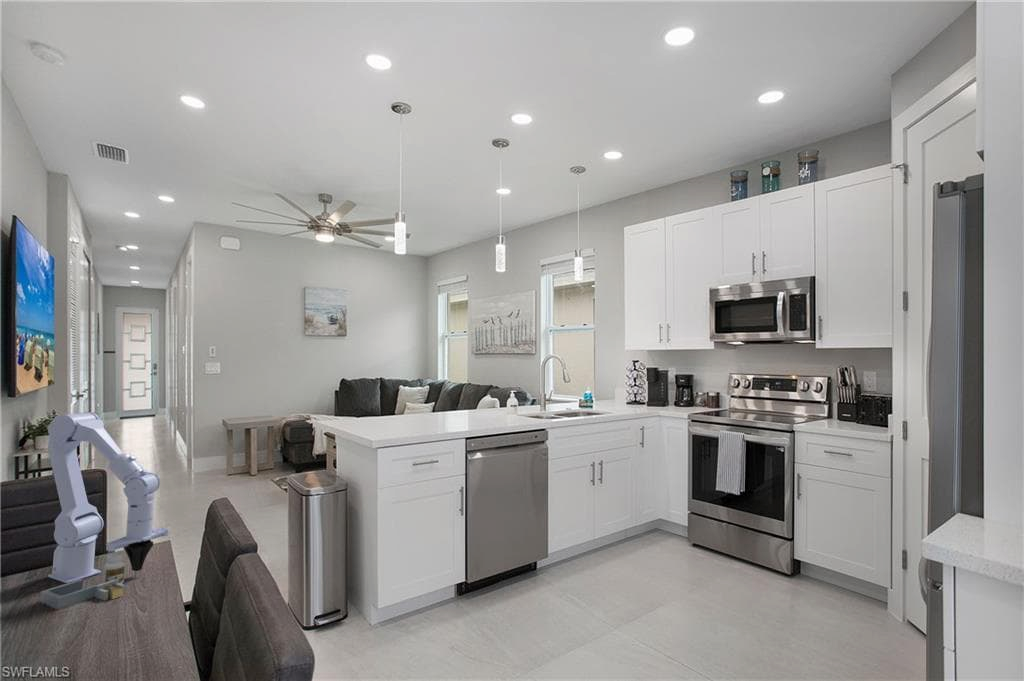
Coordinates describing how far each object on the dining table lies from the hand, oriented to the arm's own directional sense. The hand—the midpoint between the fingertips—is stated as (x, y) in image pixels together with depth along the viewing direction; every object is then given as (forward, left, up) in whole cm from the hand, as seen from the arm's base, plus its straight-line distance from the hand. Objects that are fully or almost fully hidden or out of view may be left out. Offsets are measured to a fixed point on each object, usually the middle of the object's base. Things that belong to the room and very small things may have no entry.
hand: (136, 569), depth 138 cm
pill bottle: (0, -5, -2) cm, 6 cm away
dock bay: (+2, -13, -2) cm, 14 cm away
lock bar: (+7, -10, -2) cm, 12 cm away
